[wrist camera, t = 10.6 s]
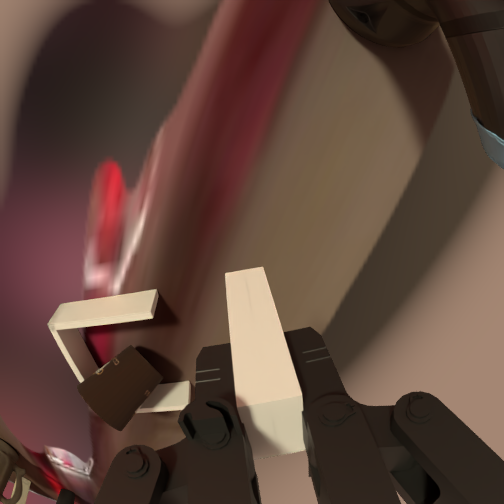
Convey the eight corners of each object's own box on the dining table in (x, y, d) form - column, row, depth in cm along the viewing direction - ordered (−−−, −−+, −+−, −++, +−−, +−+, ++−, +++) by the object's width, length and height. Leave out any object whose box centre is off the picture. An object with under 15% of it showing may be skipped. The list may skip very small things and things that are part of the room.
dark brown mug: (137, 350, 36) (83, 403, 31) (178, 391, 39) (129, 440, 35) (114, 327, 45) (70, 369, 40) (147, 363, 49) (107, 403, 44)
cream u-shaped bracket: (156, 289, 40) (150, 311, 35) (190, 385, 47) (190, 408, 43) (60, 303, 39) (47, 324, 34) (107, 391, 46) (100, 413, 42)
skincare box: (20, 475, 62) (12, 503, 51) (31, 481, 64) (24, 509, 52) (16, 477, 63) (8, 504, 52) (27, 483, 65) (20, 510, 54)
